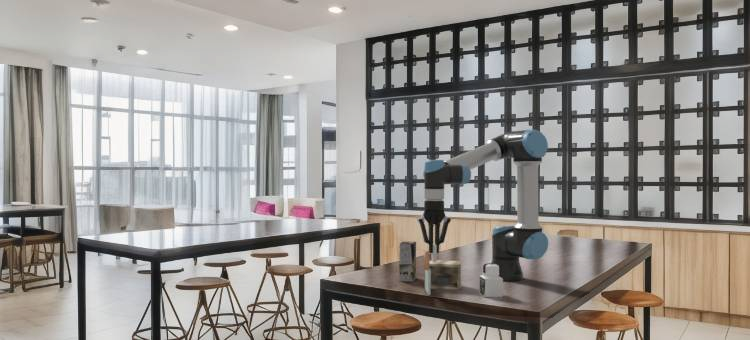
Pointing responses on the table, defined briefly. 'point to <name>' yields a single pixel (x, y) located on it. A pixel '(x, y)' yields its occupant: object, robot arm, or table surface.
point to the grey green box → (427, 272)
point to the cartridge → (443, 280)
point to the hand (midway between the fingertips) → (433, 261)
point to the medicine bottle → (491, 281)
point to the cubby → (446, 274)
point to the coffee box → (407, 261)
